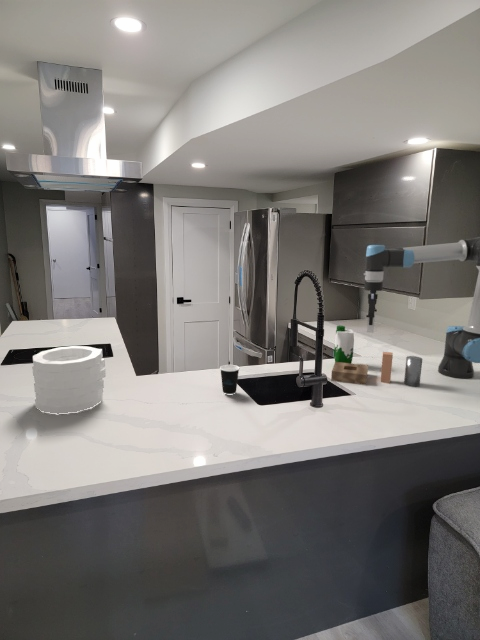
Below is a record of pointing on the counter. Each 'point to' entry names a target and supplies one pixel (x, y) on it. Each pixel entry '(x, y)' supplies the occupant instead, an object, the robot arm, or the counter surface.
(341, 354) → the milk carton
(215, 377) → the counter surface
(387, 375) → the square peg
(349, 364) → the socket block
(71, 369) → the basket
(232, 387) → the dixie cup
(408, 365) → the round post
